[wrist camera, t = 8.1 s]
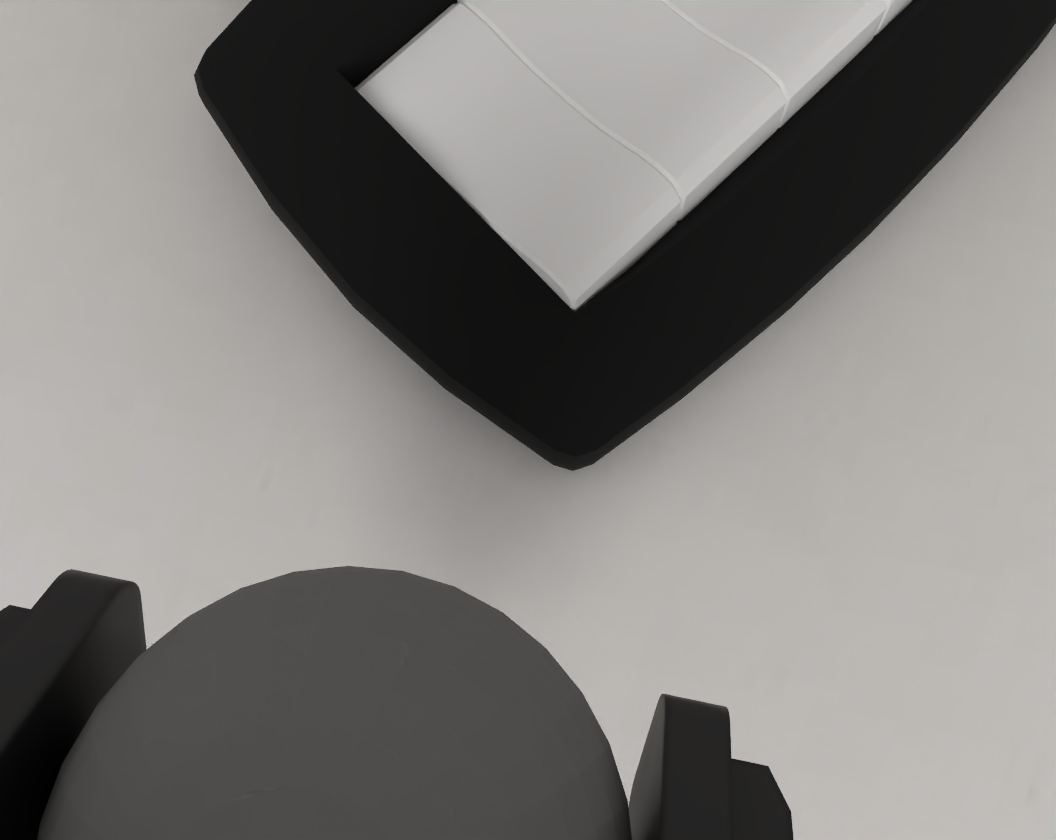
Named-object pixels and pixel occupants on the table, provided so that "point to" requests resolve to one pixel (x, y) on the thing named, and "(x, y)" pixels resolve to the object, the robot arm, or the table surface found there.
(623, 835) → the light bulb
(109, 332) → the table surface
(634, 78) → the light switch
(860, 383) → the table surface
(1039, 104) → the table surface
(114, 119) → the table surface
